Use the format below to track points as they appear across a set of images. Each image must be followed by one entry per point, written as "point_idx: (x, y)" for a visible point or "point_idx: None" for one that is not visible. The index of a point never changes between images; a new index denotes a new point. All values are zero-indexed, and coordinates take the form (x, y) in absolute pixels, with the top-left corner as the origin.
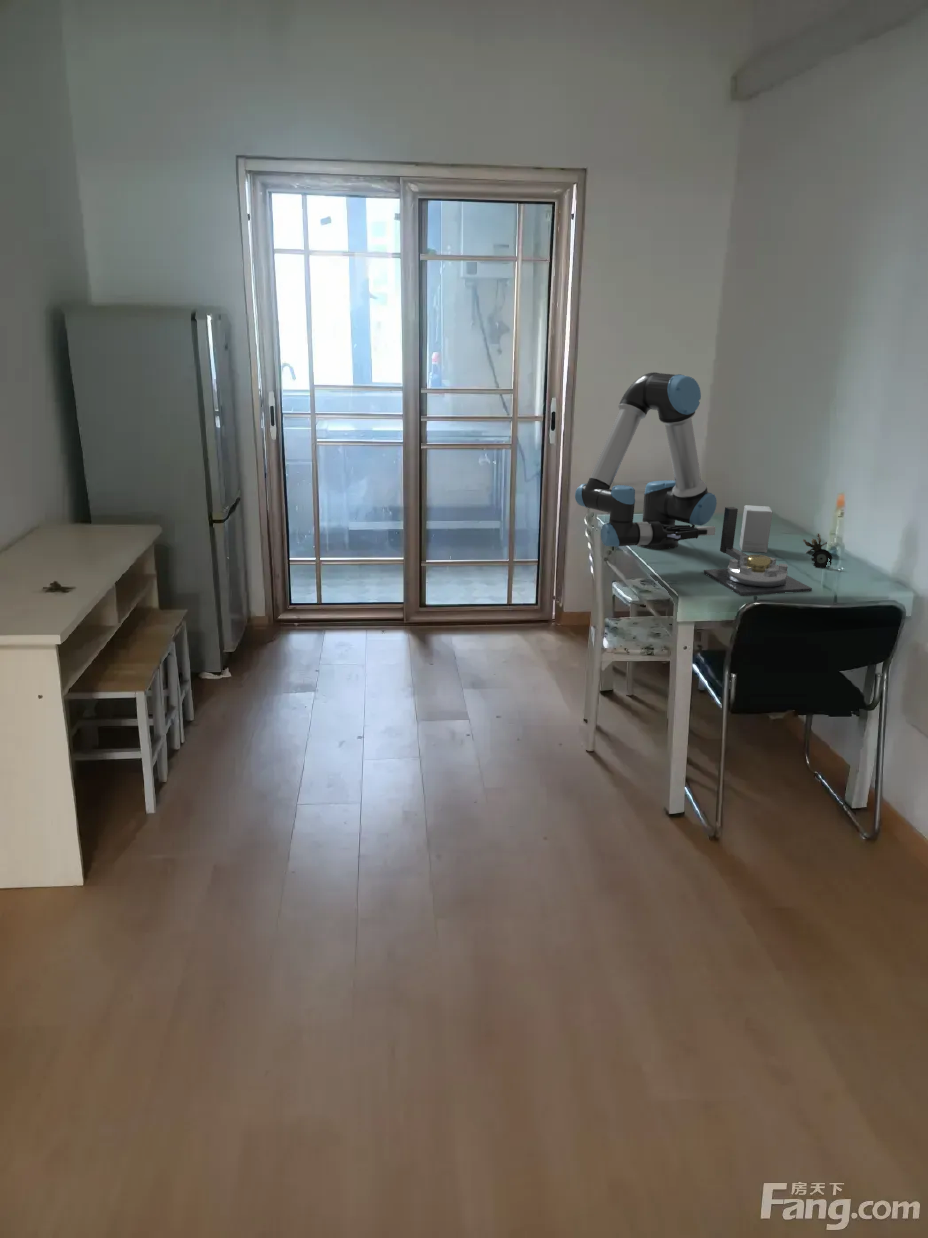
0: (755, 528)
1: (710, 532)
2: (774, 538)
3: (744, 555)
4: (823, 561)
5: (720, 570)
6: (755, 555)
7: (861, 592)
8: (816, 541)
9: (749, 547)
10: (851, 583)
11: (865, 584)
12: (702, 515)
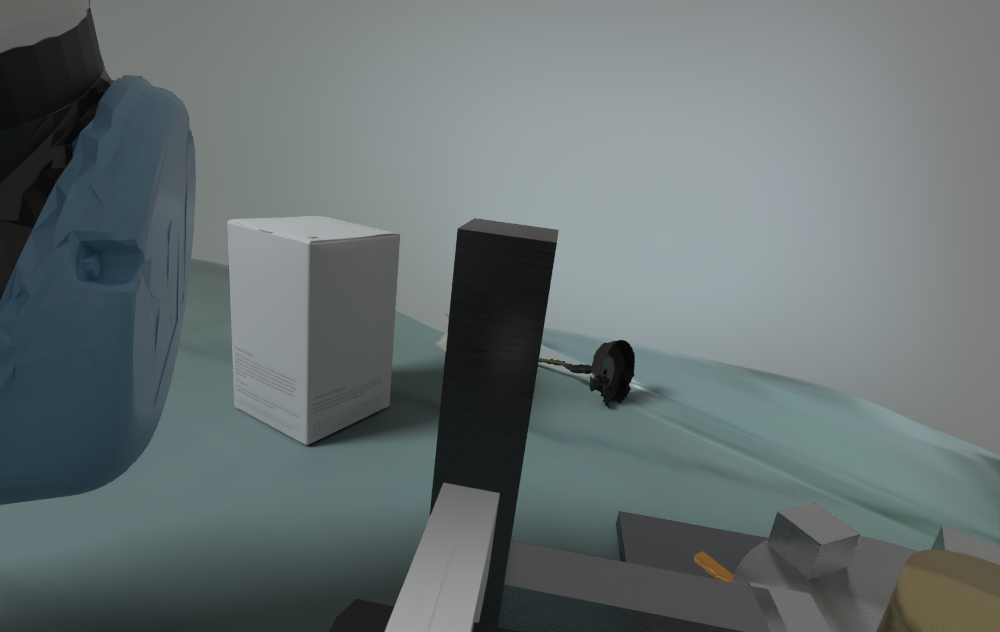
0: (351, 324)
1: (482, 598)
2: None
3: (769, 613)
4: (610, 378)
5: None
6: (953, 606)
7: (921, 470)
8: None
9: (335, 416)
10: (803, 437)
11: (805, 421)
12: (147, 373)
